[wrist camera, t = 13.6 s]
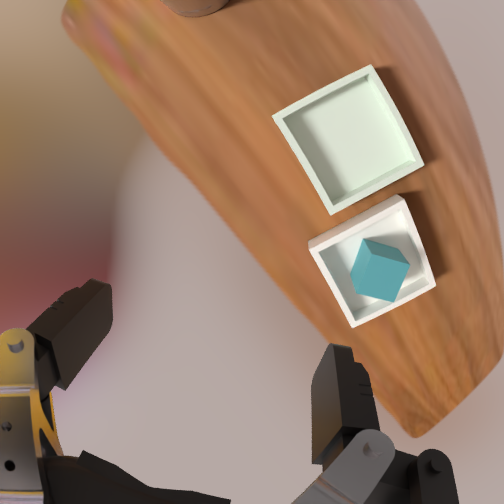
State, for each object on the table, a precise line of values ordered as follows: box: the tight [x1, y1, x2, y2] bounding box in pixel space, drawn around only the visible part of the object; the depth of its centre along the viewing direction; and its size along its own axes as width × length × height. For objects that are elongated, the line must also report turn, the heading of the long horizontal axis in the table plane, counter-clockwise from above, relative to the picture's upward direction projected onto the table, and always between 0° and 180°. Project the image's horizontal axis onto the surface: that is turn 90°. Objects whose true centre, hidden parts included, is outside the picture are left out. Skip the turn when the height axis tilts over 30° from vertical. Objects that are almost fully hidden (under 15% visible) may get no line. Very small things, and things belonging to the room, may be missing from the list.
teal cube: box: [350, 239, 410, 302], centre depth 35 cm, size 5×5×5 cm
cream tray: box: [308, 194, 436, 328], centre depth 37 cm, size 13×13×3 cm
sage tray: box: [272, 65, 424, 215], centre depth 32 cm, size 13×13×3 cm
